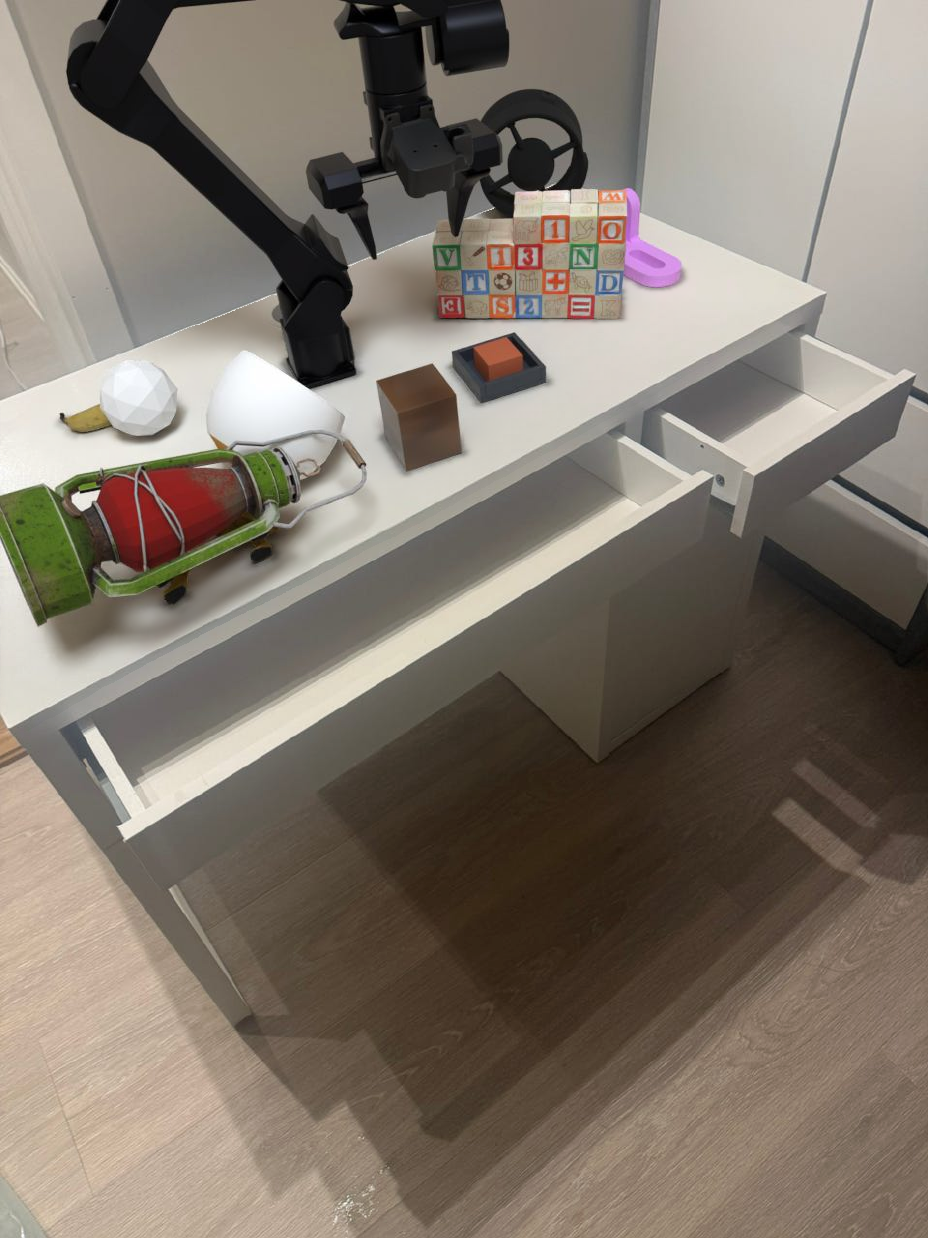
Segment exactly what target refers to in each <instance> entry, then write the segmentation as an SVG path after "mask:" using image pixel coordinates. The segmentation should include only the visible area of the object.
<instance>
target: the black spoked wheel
mask: <svg viewBox="0 0 928 1238" xmlns="http://www.w3.org/2000/svg"><path fill="white" fill-rule="evenodd" d="M527 119H541V120H546V121H550V122H551V123H554V124H556V125H557V126H559V127H560V128H561V129H563V130H564V131H565V133H566V134H567V135H568V137H569V141H568V142H566V143H564V144H561V145H560V146H557V147H555V148H553V149H552V148H551V147H550V146H549V144H548V143H547V142H546V141H544V140H543V139H541V138H538V137H525V138H522V137H521V135H520V133H519V131H518V129H517V127H516V123H517V122H520V121H523V120H527ZM480 121H481V122H482V123H483V124H485V125H486V126H487V127H488V128H489V129H491V130H492V131H493V132H494V133H496V134H497V135H498V136H499V134H501V133H502V132H503V131H504V130H505V129H509V131H510V132H511V134H512V137H513V139H514V141H515V144H514V145H513V146H512V147H511V149H510V151H509V152H508V156H507V161H506V163H507V165H506V166H507V174H506V175H504V176H503V177H501V178H499V179H498V180H496V181H495V180H494V179H493V178H492V176H491V175H490V174H491V173H490V174H489V175H488V176H485V177H483V178H481V179H480V180H479V184H480V187H481V190H482V193H483V194H484V197H485V198H486V199H487V202H489V204H490V205H491V206H492V207H493V208H494V209H495V210H497V211H498V212H499V213H501V214H502V215H505V216H506V217H508V218H510V219H513V215H514V201H515V194H513V193H511V192H510V191H508V190H506V189H504V188H502V187H504V186H506V185H509V184H511V183H513V184H514V186H515V187H517V188H518V189H520V190H522V191H523V192H528V191H542V192H543V191H556V190H558V191H559V190H569V191H571V190H572V189H583V186H584V185H585V182H586V178H587V175H588V170H589V158H588V154H587V152H586V151H584V147H583V133H582V127H581V125H580V121H579V119H578V117H577V115H576V113H575V112H574V110H573V108H572V107H571V106H570V104H568V103H567V102H566V101H565V100H564V99H563V98H561V97H560V96H558V95H557V94H555V93H553V92H551V91H548V90H544V89H539V88H525V89H520V90H516V91H513V92H510V93H508V94H506V95H504V96H503V97H502V96H501V98H499V99H498V100H496V101H495V102H494V103H493V104H492V105H491V106H490V107H489V108H488V109H487V111H486V112H485V113H484V114H483V116H482V118H481V119H480ZM570 150H572V156H571V160H570V164H569V166H568V168H567V169H566V171H565V172H564V174H563V176H562V177H561V178H560V179H559V180H558V181H557V182H556V183H554V184H553V185H552V186H550V187H548V188H547V189H546V187H545V186H546V185H548V183H549V182H550V181H551V179H552V177H553V174H554V172H555V166H556V165H555V159H557V158H558V157H560V156H562V155H563V154H565V153H567V152H568V151H570Z"/></svg>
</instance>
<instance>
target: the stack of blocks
mask: <svg viewBox="0 0 928 1238" xmlns="http://www.w3.org/2000/svg"><path fill="white" fill-rule="evenodd" d="M514 195H515V201H514V215H513V218H463V222H462V225H461V229H460V233H459V236H458V237H454V236H453V235H452V233H451V229H450V224H449V219H448V218H447V219H438V220H437V224H436V227H435V231H434V232H435V233H434V238H433V242H432V255H433V257H432V258H433V265H434V271H435V285H436V295H437V304H438V305H437V306H438V315H439V318H440V319H457V318H459V319H462V318H463V319H464V318H465V319H585V320H586V319H587V320H588V319H590V320H591V319H592V320H593V319H596V320H597V319H598V320H616V319H617V320H618V319H620V318H621V309H622V292H623V284H624V275H623V273H624V266H625V253H626V223H627V195H626V190H623V189H617V190H616V189H613V190H609V189H606V190H605V189H602V190H598V189H597V188H581V189H572V190H571V191H569V190H559V191H558V190H556V191H543V192H542V191H539V190H537V191H515V193H514Z"/></svg>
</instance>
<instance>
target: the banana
mask: <svg viewBox="0 0 928 1238" xmlns="http://www.w3.org/2000/svg"><path fill="white" fill-rule="evenodd" d="M58 414H59V420H60V421H62V422H65V423H66V424H67V426H68V428H69V429H70V430H72V431H74V432H79V433H87V432H92V431H96V430H99V429H103V428H106V427H108V426H112V424H111V422H110V421H109V420H108V418H107V417H106V415H105V414H104V413H103V411H102V410H101V408H100V403H99V404H95V405H93V406H91V407H89V408H87V409H84V410H83V411H82V410H81V411H80V412H77V413H75V414H72V415H69V416H68V417H65V416H66V414H65V413H64V412H60V413H58Z"/></svg>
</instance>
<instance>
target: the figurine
mask: <svg viewBox="0 0 928 1238" xmlns="http://www.w3.org/2000/svg"><path fill="white" fill-rule="evenodd" d="M253 521H255V519H253V518H252V516H251V515H250V514H249V512H246V513H243V514H242V515H241V516H240V517H238V518H237V519H236V520H235V521H234V522H232V523H231V524H230V525H229V526H227V527H226V528H224V529H223V530H222V531H220V532H219V533H217V534H216V535H215V536H216V537H217V538H219V537H221V536H223V535H225V534H227V533H229V532H231V531H234V530H236V529H238V528H240V527H242V526H244V525H246V524H248V523H251V522H253ZM280 531H281V527H275V526H273V527H272V528H271V529H270V530H269V531H268V532H266V533H264V534H262V535H260V536H258V537H256V538H253V539H251V540H249V541H247V542H246V543H250V544H251V545H252V546H253V547H254V548H253V549H252V550H251V551H250V554H249V557H250V561H253V563H258V562H262V561H264V560H265V559H267V558H269V557H270V556H271V555H272V553H273V547H272V543H270V542H269V540H268V539H267V537H268V536H269V535H271V534H274V533H277V532H280ZM186 553H187V552H186ZM190 574H191V573H190V569H189V570H187V571H185V572H183V573H181V574H179V575H177V576H175V577H173V578H171V579H169V580H167V581H164V582H162V583H160V584H158V585H156V586H154V587H153V588H156V587H157V588H159V589H162V588H164V587H166V586H167V585H168V584H169V585H168V587H167V588H166V589H165V590H164V591H163V592H162V596H163V600H164V601H165V603H166V604H168V605H169V604H172V605H175V604H176V603H178V602H179V601H180V600H181V599H182V598H184V596H185V595H186V593H187V588H188V586H189V576H190Z"/></svg>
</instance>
